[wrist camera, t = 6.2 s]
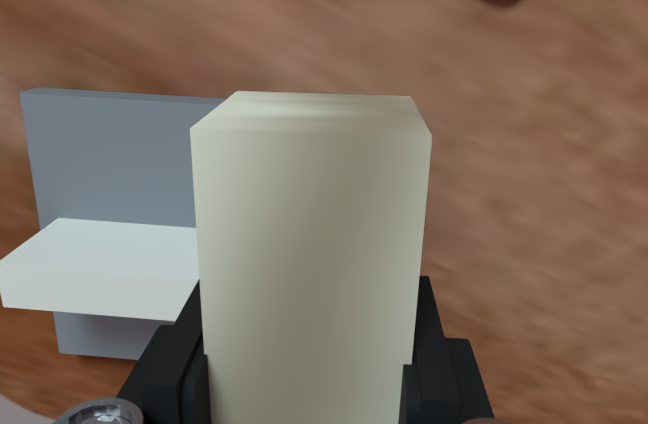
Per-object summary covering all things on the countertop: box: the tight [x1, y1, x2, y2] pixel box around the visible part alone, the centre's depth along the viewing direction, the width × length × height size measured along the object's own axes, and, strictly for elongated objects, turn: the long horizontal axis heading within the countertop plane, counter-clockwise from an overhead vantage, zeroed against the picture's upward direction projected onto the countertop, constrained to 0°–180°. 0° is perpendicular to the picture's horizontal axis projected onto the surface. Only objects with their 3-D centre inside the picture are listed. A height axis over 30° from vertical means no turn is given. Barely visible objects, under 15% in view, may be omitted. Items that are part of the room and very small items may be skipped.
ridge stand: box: [0, 87, 422, 360], centre depth 26 cm, size 18×14×6 cm
